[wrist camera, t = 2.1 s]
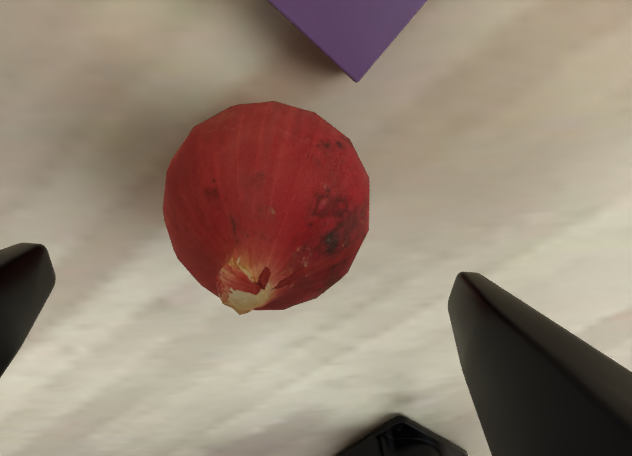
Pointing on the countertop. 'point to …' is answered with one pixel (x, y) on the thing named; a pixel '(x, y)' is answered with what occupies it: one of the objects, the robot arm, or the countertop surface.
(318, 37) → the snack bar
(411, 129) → the countertop surface
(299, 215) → the onion
